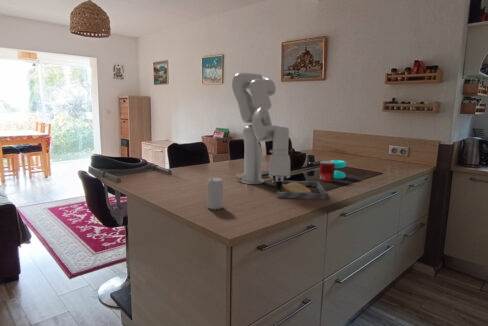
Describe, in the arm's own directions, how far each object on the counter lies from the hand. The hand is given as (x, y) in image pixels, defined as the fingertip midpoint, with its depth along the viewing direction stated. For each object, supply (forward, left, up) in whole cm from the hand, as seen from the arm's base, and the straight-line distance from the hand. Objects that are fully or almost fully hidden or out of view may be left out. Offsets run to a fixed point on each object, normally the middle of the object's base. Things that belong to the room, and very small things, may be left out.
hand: (278, 188), depth 162 cm
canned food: (+28, +26, -1) cm, 38 cm away
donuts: (+36, +36, -1) cm, 51 cm away
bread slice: (+9, +1, -2) cm, 9 cm away
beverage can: (-28, -30, -1) cm, 41 cm away
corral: (+9, 0, -1) cm, 9 cm away
